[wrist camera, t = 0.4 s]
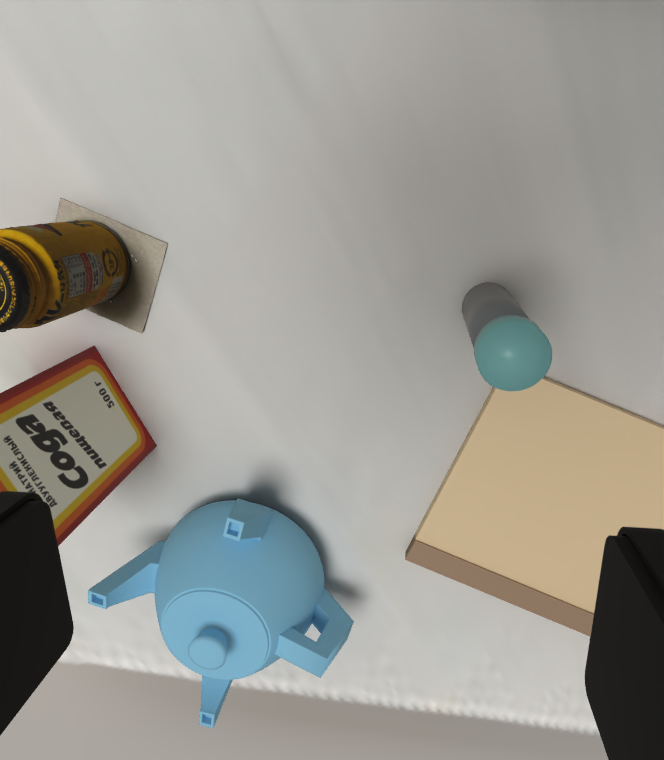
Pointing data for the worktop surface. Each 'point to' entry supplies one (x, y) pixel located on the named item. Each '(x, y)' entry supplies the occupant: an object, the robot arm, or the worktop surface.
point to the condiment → (77, 270)
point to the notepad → (543, 499)
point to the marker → (505, 339)
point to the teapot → (234, 596)
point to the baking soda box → (70, 438)
